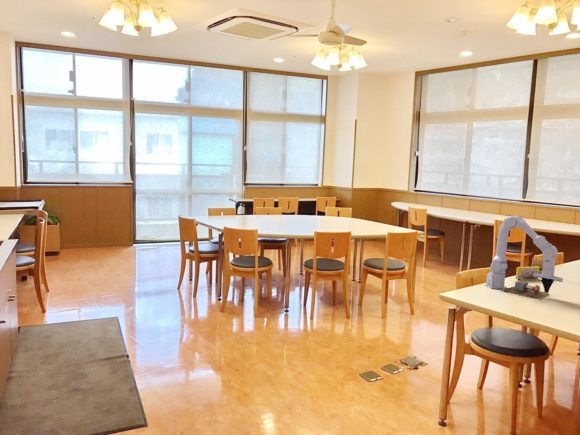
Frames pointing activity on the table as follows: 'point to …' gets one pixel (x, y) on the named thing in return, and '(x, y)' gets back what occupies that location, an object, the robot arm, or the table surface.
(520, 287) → the bearing housing
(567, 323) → the table surface
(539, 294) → the base plate
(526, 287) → the shaft
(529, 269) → the candy box
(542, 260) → the ammunition clip
